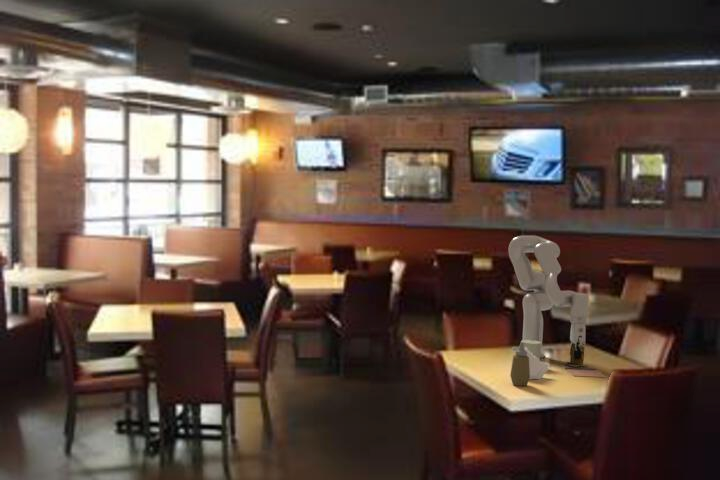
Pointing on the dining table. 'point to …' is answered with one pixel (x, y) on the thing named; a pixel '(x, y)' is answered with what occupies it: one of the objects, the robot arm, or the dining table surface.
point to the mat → (585, 373)
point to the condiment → (576, 361)
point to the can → (533, 347)
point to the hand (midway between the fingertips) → (575, 356)
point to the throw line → (580, 368)
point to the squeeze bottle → (520, 367)
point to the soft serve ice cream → (535, 366)
